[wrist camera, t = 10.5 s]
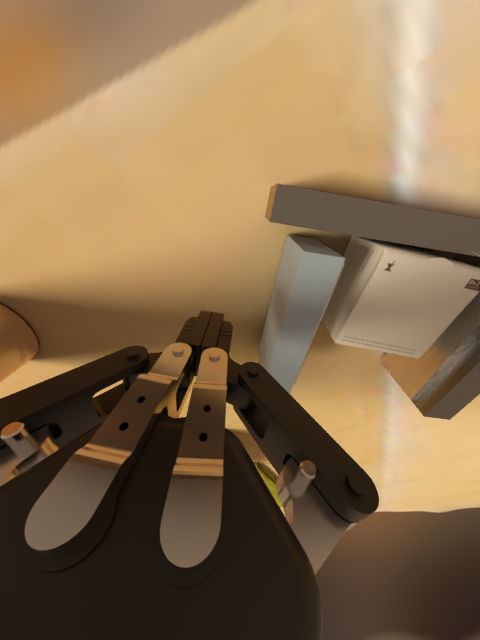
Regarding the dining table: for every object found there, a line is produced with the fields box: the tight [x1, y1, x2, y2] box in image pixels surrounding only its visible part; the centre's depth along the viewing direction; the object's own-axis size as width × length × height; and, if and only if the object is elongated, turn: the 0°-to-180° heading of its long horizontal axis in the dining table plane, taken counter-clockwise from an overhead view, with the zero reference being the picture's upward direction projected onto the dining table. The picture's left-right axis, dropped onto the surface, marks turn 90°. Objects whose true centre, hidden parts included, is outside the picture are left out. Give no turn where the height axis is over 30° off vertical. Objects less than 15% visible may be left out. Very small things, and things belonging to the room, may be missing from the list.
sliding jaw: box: [259, 234, 345, 393], centre depth 17 cm, size 3×12×6 cm, turn 172°
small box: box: [322, 236, 480, 358], centre depth 17 cm, size 8×8×5 cm
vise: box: [266, 184, 480, 420], centre depth 17 cm, size 19×15×7 cm
